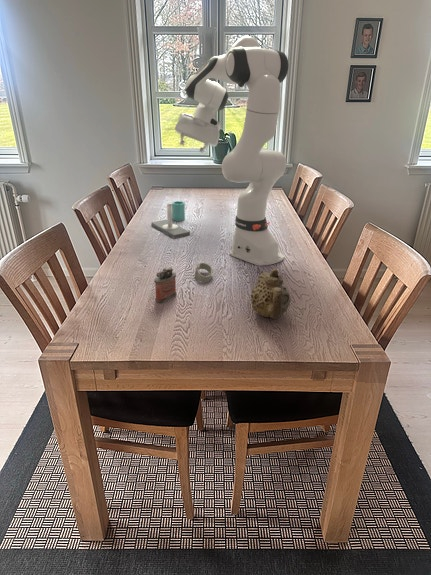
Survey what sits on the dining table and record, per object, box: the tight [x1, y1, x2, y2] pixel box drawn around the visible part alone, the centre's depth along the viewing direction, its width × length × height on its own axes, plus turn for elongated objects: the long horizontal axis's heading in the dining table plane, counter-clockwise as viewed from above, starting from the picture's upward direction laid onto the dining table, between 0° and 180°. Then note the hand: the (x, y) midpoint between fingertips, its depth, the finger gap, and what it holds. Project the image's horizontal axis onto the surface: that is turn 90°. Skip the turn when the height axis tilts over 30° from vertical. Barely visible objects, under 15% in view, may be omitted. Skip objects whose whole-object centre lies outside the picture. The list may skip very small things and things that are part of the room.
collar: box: [171, 200, 186, 222], centre depth 199 cm, size 6×6×8 cm
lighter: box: [153, 267, 177, 304], centre depth 127 cm, size 8×3×10 cm, turn 141°
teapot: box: [250, 268, 292, 320], centre depth 119 cm, size 21×12×15 cm, turn 4°
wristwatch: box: [194, 262, 214, 283], centre depth 143 cm, size 9×6×5 cm
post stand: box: [150, 202, 191, 239], centre depth 183 cm, size 20×8×13 cm, turn 37°
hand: (191, 148), depth 185 cm, fingers open, 8 cm apart
